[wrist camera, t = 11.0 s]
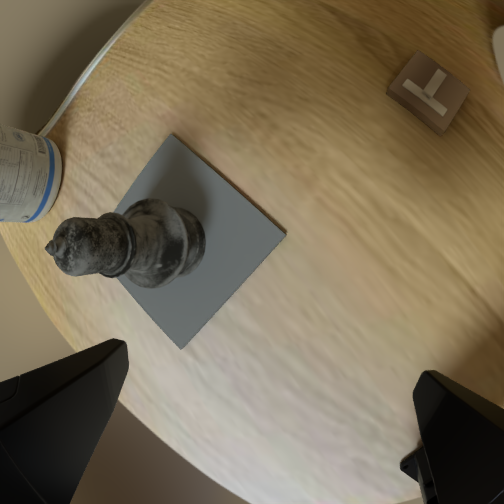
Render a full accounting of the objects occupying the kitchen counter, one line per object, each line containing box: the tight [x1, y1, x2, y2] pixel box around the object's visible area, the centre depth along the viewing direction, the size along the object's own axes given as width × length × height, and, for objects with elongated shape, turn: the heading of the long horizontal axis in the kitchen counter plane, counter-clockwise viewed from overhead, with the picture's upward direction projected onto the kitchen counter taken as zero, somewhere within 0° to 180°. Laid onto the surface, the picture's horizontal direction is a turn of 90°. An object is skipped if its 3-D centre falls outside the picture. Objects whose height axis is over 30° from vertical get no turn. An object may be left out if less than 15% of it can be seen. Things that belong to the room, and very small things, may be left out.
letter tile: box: [386, 50, 470, 136], centre depth 17 cm, size 5×5×2 cm
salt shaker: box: [45, 198, 206, 289], centre depth 17 cm, size 6×6×12 cm
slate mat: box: [113, 134, 286, 349], centre depth 23 cm, size 12×12×1 cm
